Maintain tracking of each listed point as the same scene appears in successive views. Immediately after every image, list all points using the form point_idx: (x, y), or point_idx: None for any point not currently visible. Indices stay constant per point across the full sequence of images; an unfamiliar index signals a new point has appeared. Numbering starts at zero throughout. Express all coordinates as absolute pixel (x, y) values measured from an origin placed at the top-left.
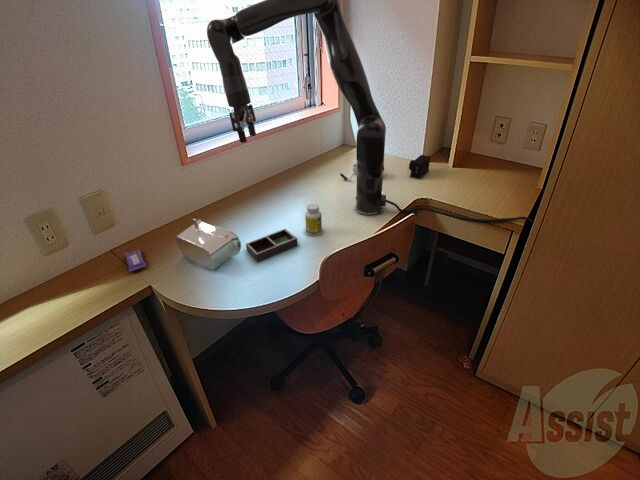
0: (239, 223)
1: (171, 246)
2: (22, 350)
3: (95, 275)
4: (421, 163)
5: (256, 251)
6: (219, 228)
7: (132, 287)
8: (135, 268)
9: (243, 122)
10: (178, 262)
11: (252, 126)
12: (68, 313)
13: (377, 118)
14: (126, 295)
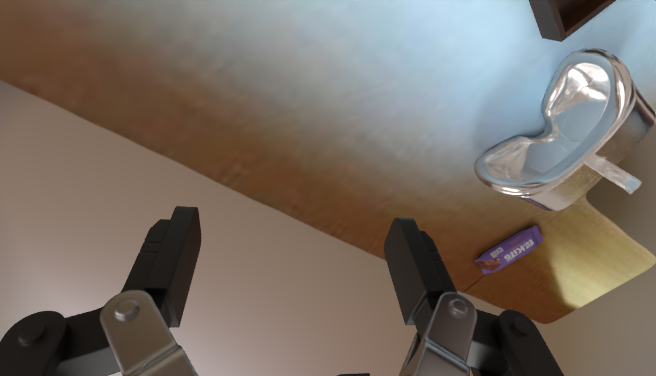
0: (393, 104)
1: (470, 216)
2: (642, 263)
3: (523, 278)
4: None
5: (561, 5)
6: (622, 116)
7: (576, 217)
8: (537, 237)
9: (469, 373)
10: None
11: (174, 283)
12: (598, 260)
13: None
14: (593, 215)
